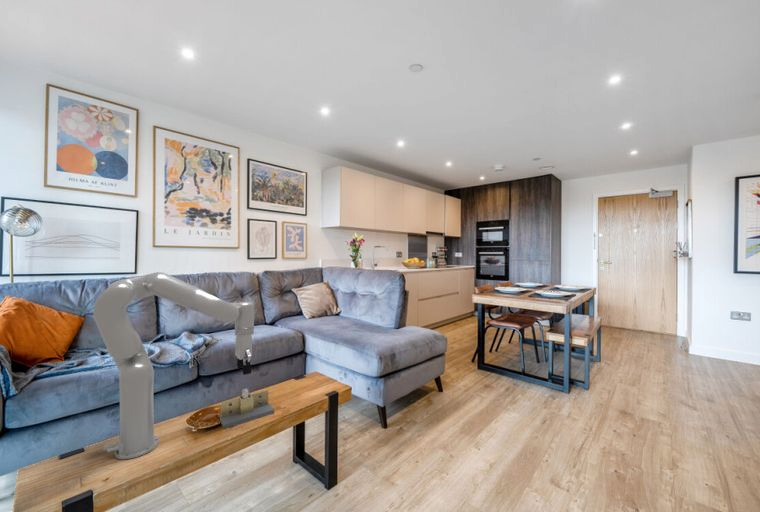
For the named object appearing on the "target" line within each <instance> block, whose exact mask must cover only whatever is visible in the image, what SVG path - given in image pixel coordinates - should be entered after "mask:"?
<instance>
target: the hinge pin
mask: <svg viewBox="0 0 760 512" xmlns="http://www.w3.org/2000/svg"><path fill="white" fill-rule="evenodd" d="M241 393H242V394H241V395H242V399H244V398H248V393H249V388H246V387H245V388H243V389H242V390H241Z"/></svg>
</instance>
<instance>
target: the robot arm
mask: <svg viewBox="0 0 760 512" xmlns="http://www.w3.org/2000/svg"><path fill="white" fill-rule="evenodd" d="M152 296H156V297H158V298H161V299H163V300H166V301H169V302H171V303H173V304H176V305H179V306H181V307H183V308H185V309H188V310H190V311H194V312H198V313H201V314H203V315H205V316H207V317H210V318H213V319H215V320H216V321H217V320H218V321H220V322H222V323H225V324H232V323H234V336H236V337H235V347H234V354H235V357H236V358H237V359H236V366H237V367H236V368H237V369H242V375H243V376H244V375H249V374H252V357H253V338H252V337H253V335H254V333H255V327H254V326H255V304H254V303H253V302H251V301H240V302H227V301H225V300H224V299H221V298H218V297H217V296H215V295H212V294H211V293H208V292H207V291H205V290H204V289H201V288H199V287H197V286H195V285H193V284H190V283H187V282H186V281H183V280H181V279H180V278H178V277H174V276H173V275H170V274H168V273H166V272H165V273H164V272H159V271H157V272H152V273H148V274H143V275H139V276H135V277H129V278H125V279H119V280H117V281H114V282H112V283H110V284H109V285H108V286H107V288H106V289H105V290H104V291H103V292H102V293H101V294H100V295H99V296H98V298H97V299H96V300H95V303H94V306H93V319H94V322H95V325H96V327H97V329H98V331H99V334H100V336H101V338H102V340H103V343H104V345H105V348H106V351H107V353H108V355H109V356H110V357H111V358H112V360H113V362H114V364H115V365H116V368H117V369H118V372H119V373H118V376H119V380H118V381H119V433H120V434H119V436H120V437H119V439H118V440H116V441H115V442H112V443H107V444H104V445H103V448H102V449H103V450H102V452H106V453H107V454H108V453H113V452H114V457H115V458H116V459H118V460H128V459H134V458H138V457H141V456H143V455H146V454H148V453H150V452H152V451H153V450H154V449H156V447H158V446H159V444H160V437H158V436H156V435H155V424H154V423H155V418H154V414H155V413H154V412H155V411H154V409H155V407H154V406H155V405H154V403H155V402H154V387H155V386H154V382H155V370H154V367H153V363H152V361H151V359H150V357H149V355H148V353H147V351H146V348H145V346H144V344H143V341H142V339H141V337H140V335H139V333H138V332H137V331H136V330H135V329H134V326H133V325H132V322H131V320H130V318H129V315H128V313H127V309H128V307H129V305H130V304H131V303H132V302H133V301H135V300H139V299H143V298H147V297H152Z"/></svg>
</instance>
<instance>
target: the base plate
mask: <svg viewBox="0 0 760 512" xmlns="http://www.w3.org/2000/svg"><path fill="white" fill-rule="evenodd" d="M272 414H275V409H274V407H273V406H272V405H271V404H270V403H269V402H268V405H264V406H261V407H257V408H254V411H252V412H248V413H245V414H240V413H236V414H233V415H229V416H226V417H223V418H221V415H220V416H219V417H220V419H221V422H220V424H221V427H222V429H226V428H230V427H234V426H237V425H240V424H242V423H247V422H250V421H253V420H255V419H259V418H262V417H265V416H269V415H272Z"/></svg>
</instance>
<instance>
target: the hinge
mask: <svg viewBox="0 0 760 512" xmlns="http://www.w3.org/2000/svg"><path fill="white" fill-rule="evenodd" d="M268 403H269V390H264V391H259V392H256V393H250V392H248V398H244V399H242V394H241V395H237V397H236V398H233V399H229V400H226V401H222V402H220V410H221V418H223V417H226V416H229V415H233V414H236V413H240V414H245V413H248V412H252V411H254V408H257V407H261V406H264V405H268Z"/></svg>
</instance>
